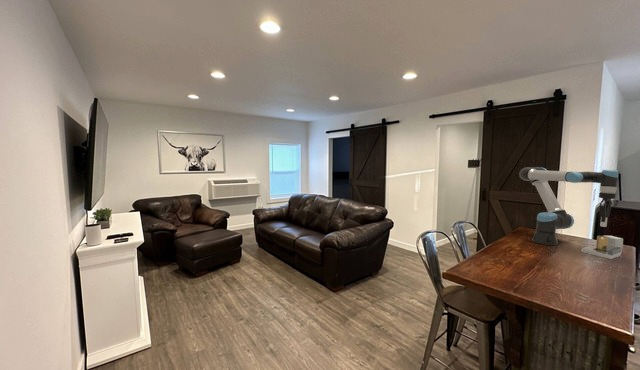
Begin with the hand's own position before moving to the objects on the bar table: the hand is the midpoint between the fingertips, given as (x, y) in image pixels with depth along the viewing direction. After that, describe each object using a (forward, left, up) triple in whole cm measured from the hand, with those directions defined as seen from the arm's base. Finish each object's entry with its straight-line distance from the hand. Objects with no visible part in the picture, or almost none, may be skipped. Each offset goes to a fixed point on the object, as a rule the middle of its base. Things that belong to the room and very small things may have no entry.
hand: (603, 226), depth 179 cm
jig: (0, 0, -19) cm, 19 cm away
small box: (+2, +14, -20) cm, 24 cm away
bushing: (0, 0, -19) cm, 19 cm away
